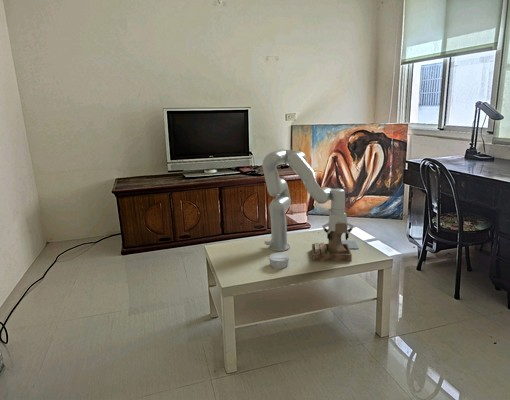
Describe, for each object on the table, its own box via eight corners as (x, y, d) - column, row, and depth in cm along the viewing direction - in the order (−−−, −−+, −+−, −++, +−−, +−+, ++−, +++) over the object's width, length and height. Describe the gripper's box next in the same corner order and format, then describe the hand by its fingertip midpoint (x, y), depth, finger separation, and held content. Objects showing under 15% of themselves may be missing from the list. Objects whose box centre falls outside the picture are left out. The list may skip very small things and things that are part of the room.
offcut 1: (315, 259, 204) (315, 249, 202) (314, 252, 213) (314, 242, 212) (319, 259, 204) (319, 249, 202) (318, 252, 213) (318, 242, 212)
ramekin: (277, 271, 190) (277, 262, 189) (265, 265, 199) (264, 256, 198) (293, 265, 196) (293, 256, 195) (280, 259, 205) (280, 251, 204)
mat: (343, 249, 216) (343, 248, 216) (340, 241, 228) (340, 240, 228) (358, 249, 215) (358, 248, 215) (355, 241, 227) (355, 240, 227)
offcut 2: (320, 259, 203) (320, 249, 202) (319, 252, 213) (319, 242, 212) (325, 259, 203) (325, 249, 202) (323, 252, 213) (323, 242, 211)
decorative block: (347, 257, 203) (347, 224, 198) (338, 259, 201) (338, 225, 196) (336, 251, 213) (336, 219, 208) (328, 252, 211) (328, 220, 206)
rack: (313, 261, 201) (313, 254, 200) (312, 249, 217) (312, 243, 216) (351, 261, 198) (351, 254, 197) (347, 249, 214) (347, 243, 213)
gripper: (322, 213, 198) (322, 242, 202) (354, 212, 196) (354, 241, 200) (321, 209, 205) (322, 237, 209) (352, 208, 203) (352, 237, 207)
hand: (337, 239), depth 205 cm, fingers open, 9 cm apart
